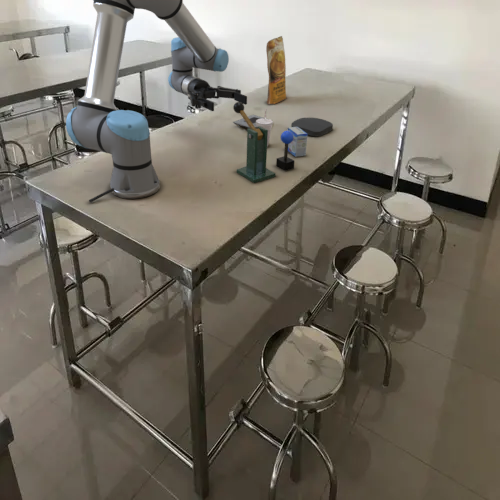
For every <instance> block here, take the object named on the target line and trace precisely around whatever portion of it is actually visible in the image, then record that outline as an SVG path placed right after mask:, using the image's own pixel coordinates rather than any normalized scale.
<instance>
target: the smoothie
mask: <svg viewBox="0 0 500 500" xmlns="http://www.w3.org/2000/svg"><path fill="white" fill-rule="evenodd" d="M267 112H268V111H267V108H264V117H263V118H262V119H257V120H256V125H257V126H261V127H263V128H265V129H267V130H268V137H267V148H268V147H269V144H270V143H269V142H270V139H271V138H270V137H271V131H272V127H273V124H274V121H273V119H270V118H267ZM266 118H267V119H266Z"/></svg>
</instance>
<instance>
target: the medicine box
mask: <svg viewBox="0 0 500 500" xmlns="http://www.w3.org/2000/svg"><path fill="white" fill-rule="evenodd" d="M287 131H290V132H292V133H293V136H294V138H293V141H292V142H291V143H289V144H288V153H290V155H292V156H293V157H294V158H297V157H298V158H300V157H306V155H307V146H308V145H307V144H308V136H309V135H308V134H307V133H306V132H304V131H303V130H302V129H300V128H299V127H291V126H289V127H287Z"/></svg>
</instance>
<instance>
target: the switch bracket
mask: <svg viewBox="0 0 500 500" xmlns="http://www.w3.org/2000/svg"><path fill="white" fill-rule="evenodd" d="M256 129H260V130H261V132H262V133H263V137H262V139H261V140H258V132H256V131H254V130H252V129H250V128H249V129H248V128H246V164H245V165H246V166H243V167H239V168H237V169H236V173H237V174H239V175H240V176H242V177H244V179H247V180H248V181H250V182H252V183H253V184H256V183H259V182H262V181H265V180H270V179H272V178H275V177H276V172H274V171H272V170H270V169H269V168H267V156H268V155H267V154H268V147H267V137H268V130H267V129H265V128H263V127H261V126H257V128H256Z"/></svg>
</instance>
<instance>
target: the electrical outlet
mask: <svg viewBox="0 0 500 500" xmlns="http://www.w3.org/2000/svg"><path fill="white" fill-rule="evenodd" d="M247 116H248V118H249V119H250V121H251V122H252V124H253V125H254V127H255V128H256V129H257V125H256V120H257V119H262V118H264V117H263V116H260V115H256V114H251V115H247ZM266 119H268V118H267V117H266ZM232 123H233V124H234V125H236V126H240V127H242V128H245V129H249V128H250V127H249V126H248V124H247V123H246V121H245V120H244V118H243V117H241V118H240V119H238V120H235V121H232Z"/></svg>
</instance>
